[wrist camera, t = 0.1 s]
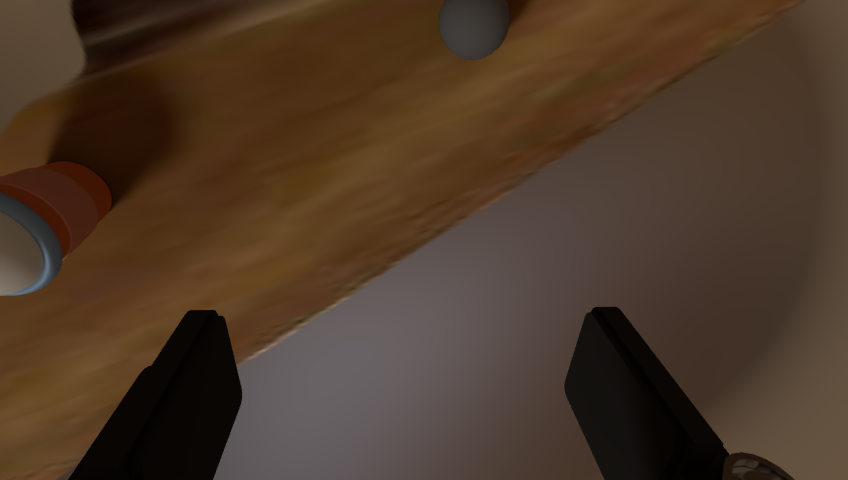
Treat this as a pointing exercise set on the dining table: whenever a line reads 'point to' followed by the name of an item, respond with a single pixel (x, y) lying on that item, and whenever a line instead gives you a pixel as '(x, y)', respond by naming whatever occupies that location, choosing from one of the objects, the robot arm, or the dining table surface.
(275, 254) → the dining table surface
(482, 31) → the dark grey ball
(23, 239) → the cup with straw
